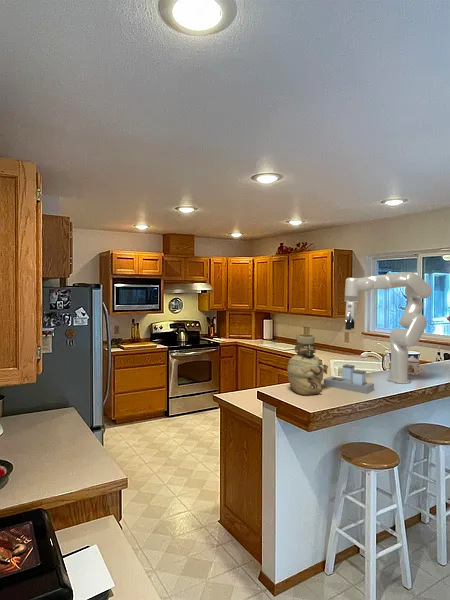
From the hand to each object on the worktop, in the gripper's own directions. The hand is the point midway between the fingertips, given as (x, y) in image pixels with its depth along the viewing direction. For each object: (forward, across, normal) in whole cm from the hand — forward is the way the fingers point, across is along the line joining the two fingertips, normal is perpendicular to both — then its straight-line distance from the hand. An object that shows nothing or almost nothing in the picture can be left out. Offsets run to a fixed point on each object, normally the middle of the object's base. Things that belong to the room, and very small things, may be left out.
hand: (349, 328), depth 228 cm
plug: (+31, 0, -1) cm, 31 cm away
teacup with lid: (+31, +49, -34) cm, 67 cm away
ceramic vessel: (+33, -28, +17) cm, 46 cm away
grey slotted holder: (+32, -14, -3) cm, 35 cm away
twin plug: (+31, -16, -9) cm, 36 cm away
